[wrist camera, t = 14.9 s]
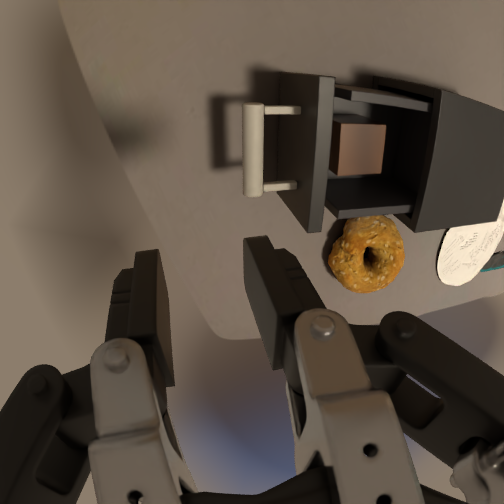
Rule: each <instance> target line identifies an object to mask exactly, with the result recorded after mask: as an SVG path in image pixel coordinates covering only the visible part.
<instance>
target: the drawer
mask: <svg viewBox="0 0 504 504" xmlns="http://www.w3.org/2000/svg"><path fill="white" fill-rule="evenodd" d="M432 109H433V102H430V101H427V100H424V99H420V98H416V97H413V96H409V95H405V94H400V93H395V92H389V91H383V90H377V89H370V88H363V87H355V86H347V85H337V84H335V77H331V76H322V75H314V74H303V73H291V72H280V98H279V106H264V104H263V103H254V102H252V103H243V104H242V145H243V194H244V195H245V196H247V197H259V196H261V195H262V194H263V192H267V191H277V194H278V195H279V196H280V198H281V199H282V200H283V201H284V203H285V204H286V205H287V207H288V208H289V209H290V211H291V212H292V213H293V215H294V216H295V217H296V219H297V220H298V221H299V223H300V224H301V225H302V227H303V228H304V229H305V231H306V232H307V233H314V232H321V230H322V222H323V214H324V206H325V207H326V208H327V209H328V210H329V211H330V212H331V213H332V214H333V215H334V216H335V217H336V218H337V219H346V218H356V217H366V216H377V215H388V214H399V213H410V212H413V211H414V207H415V203H416V199H417V194H418V190H419V185H420V181H421V176H422V171H423V166H424V161H425V155H426V150H427V144H428V138H429V131H430V124H431V117H432ZM264 114H265V115H266V114H279V138H278V170H277V181H275V182H263V138H264ZM333 114H355V115H361V116H364V117H367V118H370V119H372V120H375V121H378V122H380V123H383V124H385V125H386V134H385V144H384V153H383V161H382V169H381V174H362V175H346V176H337V175H335V174H334V173H333V172H331V171H330V170H329V158H330V147H331V135H332V122H333Z"/></svg>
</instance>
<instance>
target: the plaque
mask: <svg viewBox="0 0 504 504" xmlns="http://www.w3.org/2000/svg"><path fill="white" fill-rule="evenodd" d="M503 232H504V200H503V203H502V206H501V210H500V213H499V216H498V219H497V221H496V222H489V223H482V224H475V225H468V226H460V227H453V228H450V230H449V231H448V232H447V233H446V236H445V238H444V241H443V244H442V248H441V251H440V254H439V258H438V265H437V270H438V275H439V278H440V279H441V281H442V282H443V283H445V284H447V285H454V286H459V285H461V284H464V283H466V282H469V281H470V280H471V279H472V278H473V277H475V275H476V274H477V273H478V272H479V271H480V270H481V268H482V267H483V266H484V265H485V263H486V262H487V261H489V259H490V257H491V256H492V254H493V253H494V251H495V249H496V247H497V245H498V243H499V241H500V240H501V237H502V235H503Z"/></svg>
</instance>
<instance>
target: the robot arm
mask: <svg viewBox="0 0 504 504" xmlns="http://www.w3.org/2000/svg"><path fill="white" fill-rule="evenodd" d="M243 261H244V283H245V289H246V293H247V296H248V299H249V302H250V305H251V308H252V311H253V314H254V317H255V320H256V323H257V326H258V329H259V332H260V335H261V338H262V341H263V343H264V346H265V349H266V352H267V355H268V358H269V361H270V364H271V367H272V370H278V369H282V368H283V369H284V372H285V375H286V378H287V379H286V385H285V386H286V394H287V400H288V406H289V411H290V417H291V423H292V429H293V435H294V442H295V467H296V474H297V475H296V476H295V477H293V478H291V479H289V480H287V481H285V482H283V483H281V484H279V485H277V486H275V487H273V488H271V489H269V490H267V491H265V492H263V493H260V494H257V495H240V494H223V493H212V492H198V490H197V488H196V485H195V483H194V480H193V478H192V476H191V473H190V471H189V469H188V467H187V465H186V462H185V459H184V457H183V454H182V451H181V448H180V445H179V441H178V438H177V435H176V432H175V429H174V425H173V422H172V419H171V415H170V412H169V408H168V406H167V394H166V387H172V386H175V382H174V370H173V360H172V359H173V358H172V346H171V330H170V312H169V298H168V291H167V287H166V281H165V276H164V272H163V267H162V262H161V257H160V253H159V249H154V250H146V251H139V252H136V254H135V261H134V268H130V269H122V271H121V272H120V273H119V275H118V276H117V277H116V279H115V280H114V284H113V290H112V296H111V302H110V303H111V305H110V308H109V315H108V321H107V329H106V336H105V342H104V343H103V344H101V345H100V346H99V347H98V348H97V349H96V350H95V352H94V353H93V355H92V357H91V361H90V364H88V365H86V366H84V367H82V368H80V369H77V370H74V371H71V372H68V373H66V374H63V375H61V373H60V372H59V371H58V369H56V368H55V367H53V366H51V365H47V364H45V365H43V364H42V365H38V366H35V367H33V368H31V369H30V370H28V371H27V372H26V373H25V374H24V376H23V377H22V378H21V380H20V381H19V383H18V384H17V386H16V387H15V389H14V390H13V392H12V393H11V395H10V397H9V398H8V400H7V401H6V403H5V405H4V406H3V408H2V409H1V411H0V504H76V502H77V500H78V498H79V496H80V493H81V491H82V489H83V487H84V484H85V482H86V480H87V478H88V476H89V473H90V471H91V472H92V479H93V483H94V489H95V494H96V498H97V503H98V504H138V501H140V502H142V504H504V376H503V375H502V374H500V373H499V372H497V371H496V370H494V369H493V368H492V367H490V366H489V365H487V364H486V363H484V362H483V361H482V360H480V359H479V358H477V357H476V356H474V355H473V354H471V353H469V352H468V351H467V350H465V349H464V348H462V347H461V346H460V345H458V344H457V343H455V342H454V341H452V340H451V339H449V338H448V337H446V336H445V335H443V334H442V333H440V332H438V331H437V330H436V329H434V328H432V327H431V326H430V325H428V324H427V323H425V322H423V321H422V320H421V319H419V318H417V317H416V316H414V315H412V314H410V313H407V312H402V311H395V312H391V313H388V314H386V315H385V316H384V317H383V318H382V320H381V322H380V325H353V324H348V322H347V321H346V319H345V318H344V317H343V316H341V315H340V314H339V313H337V312H335V311H332V310H329V309H327V308H326V307H325V305H324V303H323V302H322V300H321V298H320V296H319V295H318V293H317V291H316V290H315V288H314V286H313V285H312V283H311V281H310V280H309V278H308V277H307V275H306V273H305V271H304V270H303V269H302V266H301V265H300V263H299V261H298V260H297V258H296V256H294V255H293V254H292V253H290V252H289V251H287V250H286V249H284V248H282V249H274V247H273V245H272V244H271V242H270V240H269V238H268V236H266V235H265V236H256V237H248V238H244V240H243ZM407 374H409V375H410V376H411V377H413V378H414V379H416V380H417V381H418V382H420V383H421V384H422V385H424V386H425V387H427V388H428V389H429V390H431V391H432V392H433V393H435V394H436V395H438V396H439V397H440V398H436V397H434V396H433V395H431V394H430V393H429V392H427V391H426V390H425V389H423V388H422V387H420V386H419V385H418V384H416V383H415V382H414V381H412V380H411V379H409V378H408V377H407V376H406V375H407ZM403 433H405V434H406V435H408V436H409V437H410V438H411V439H413V440H414V441H415V442H417V443H418V444H419V445H421V446H422V447H423V448H425V449H426V450H427V451H429V452H430V453H432V454H433V455H434V456H436V457H437V458H438V459H440V460H441V461H442V462H444V463H445V464H447V465H448V466H450V467H451V468H452V469H453V474H452V475H451V477H450V483H451V485H452V486H453V487H455V488H459V489H460V490H461V491H462V492H463V493H464V495H465V497H466V502H467V503H466V502H464V501H461V500H458V499H456V498H453V497H450V496H448V495H446V494H443V493H441V492H438V491H436V490H433V489H431V488H428V487H426V486H424V485H422V484H420V483H419V481H418V477H417V474H416V471H415V468H414V465H413V461H412V458H411V455H410V452H409V449H408V446H407V443H406V440H405V437H404V434H403ZM366 455H367V456H366Z"/></svg>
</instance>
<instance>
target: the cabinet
mask: <svg viewBox="0 0 504 504" xmlns="http://www.w3.org/2000/svg"><path fill="white" fill-rule="evenodd" d="M373 89H377V90H383V91H389V92H395V93H400V94H405V95H409V96H413V97H416V98H420V99H424V100H427V101H430V102H433V109H432V117H431V124H430V131H429V138H428V144H427V150H426V155H425V161H424V166H423V171H422V176H421V181H420V185H419V190H418V194H417V199H416V203H415V207H414V211H413V212H410V213H399V214H393V215H394V216H395V217H397V218H398V219H399V220H400V221H401V222H403V223H404V224H405V225H406V226H407V227H408V228H410V229H411V230H412V231H413V232H414V233H417V232H424V231H431V230H439V229H446V228H453V227H460V226H468V225H475V224H482V223H489V222H496V221H497V219H498V216H499V213H500V210H501V206H502V203H503V200H504V111H502V110H500V109H497V108H495V107H492V106H489V105H487V104H484V103H481V102H479V101H476V100H473V99H470V98H467V97H464V96H461V95H458V94H455V93H451V92H448V91H445V90H441V89H437V88H433V87H429V86H425V85H421V84H416V83H411V82H407V81H402V80H396V79H391V78H385V77H379V76H374V78H373Z"/></svg>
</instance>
